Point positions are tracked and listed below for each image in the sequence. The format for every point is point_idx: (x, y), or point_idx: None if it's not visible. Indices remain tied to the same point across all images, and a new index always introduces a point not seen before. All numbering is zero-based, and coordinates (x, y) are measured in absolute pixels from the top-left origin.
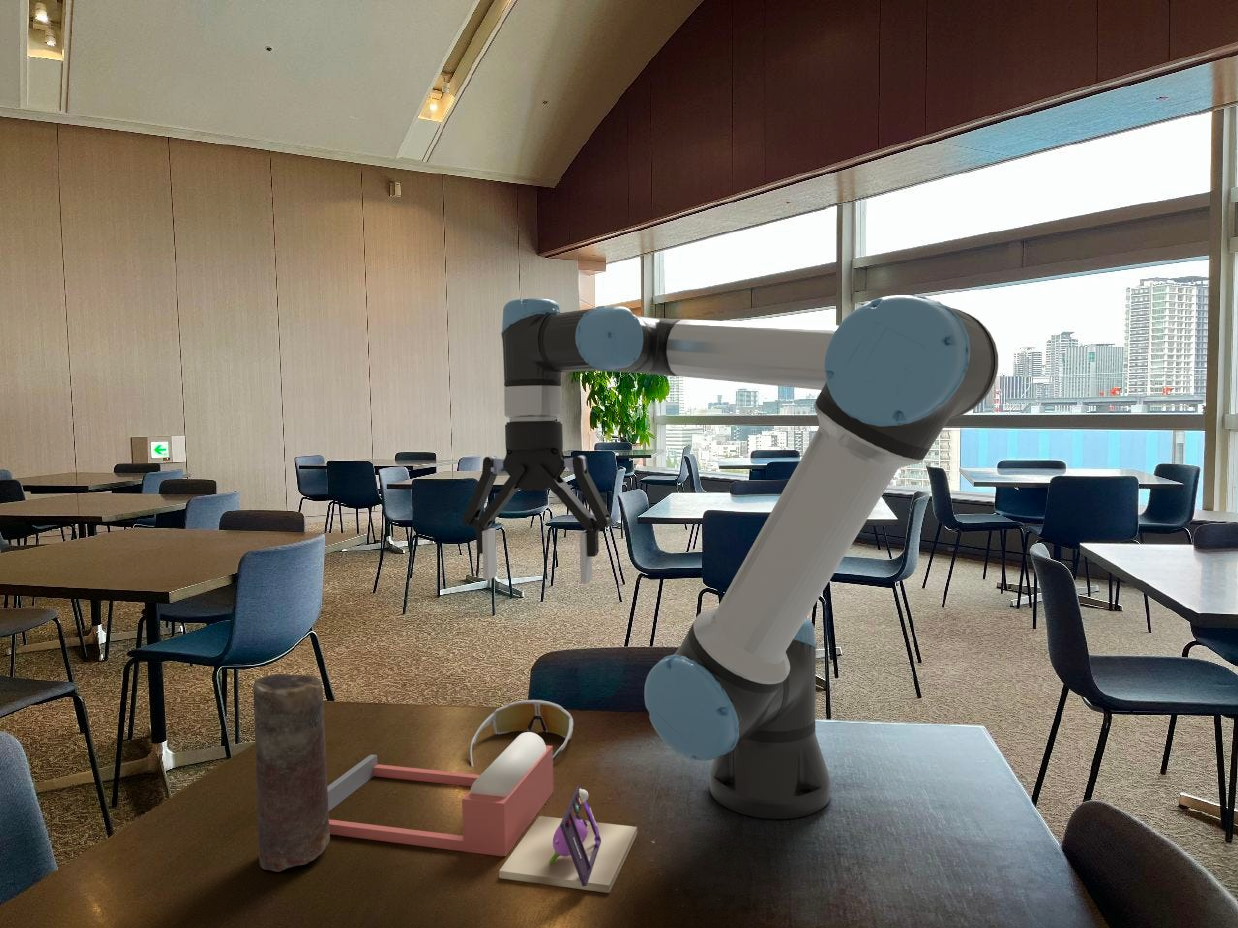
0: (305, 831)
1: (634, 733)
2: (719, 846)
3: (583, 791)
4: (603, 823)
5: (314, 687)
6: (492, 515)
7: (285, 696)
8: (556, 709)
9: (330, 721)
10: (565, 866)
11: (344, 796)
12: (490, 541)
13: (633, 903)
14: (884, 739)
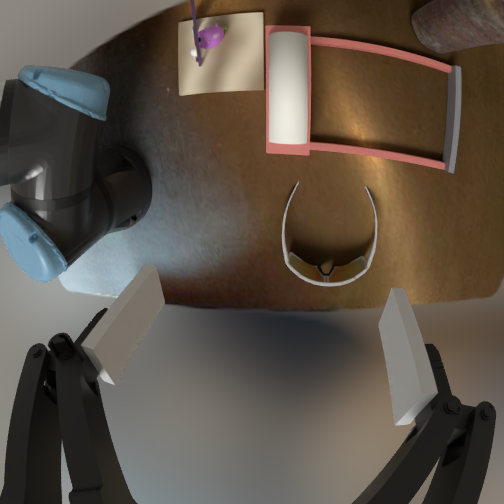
0: (422, 7)
1: (236, 269)
2: (127, 100)
3: (192, 49)
4: (205, 92)
5: None
6: (409, 449)
7: None
8: (305, 276)
9: (491, 264)
10: None
11: (447, 118)
12: (406, 377)
13: (164, 21)
14: (87, 272)
